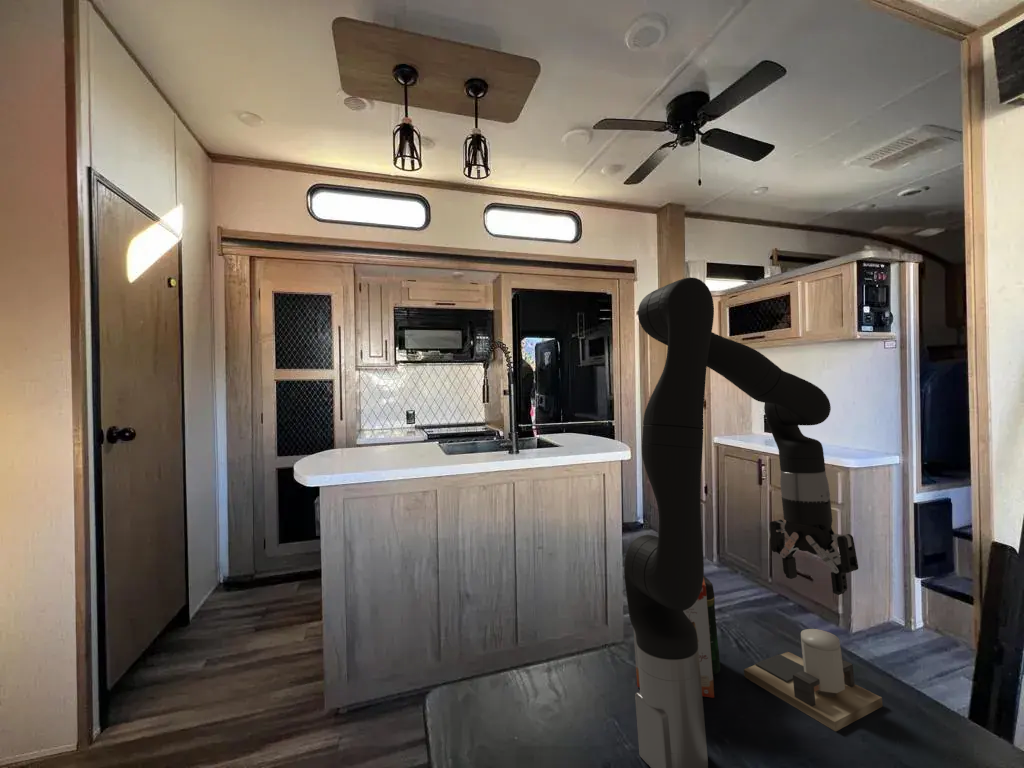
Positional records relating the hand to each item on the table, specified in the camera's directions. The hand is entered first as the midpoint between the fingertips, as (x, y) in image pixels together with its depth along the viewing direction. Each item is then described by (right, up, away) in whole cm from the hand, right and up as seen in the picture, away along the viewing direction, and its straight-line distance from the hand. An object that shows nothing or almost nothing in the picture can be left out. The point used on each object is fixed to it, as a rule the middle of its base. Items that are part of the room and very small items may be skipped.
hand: (814, 585), depth 81 cm
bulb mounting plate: (0, -20, +2) cm, 20 cm away
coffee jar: (-16, -22, +12) cm, 30 cm away
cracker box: (-23, -22, +6) cm, 33 cm away
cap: (+1, -17, -1) cm, 17 cm away
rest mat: (-2, -19, +6) cm, 20 cm away
